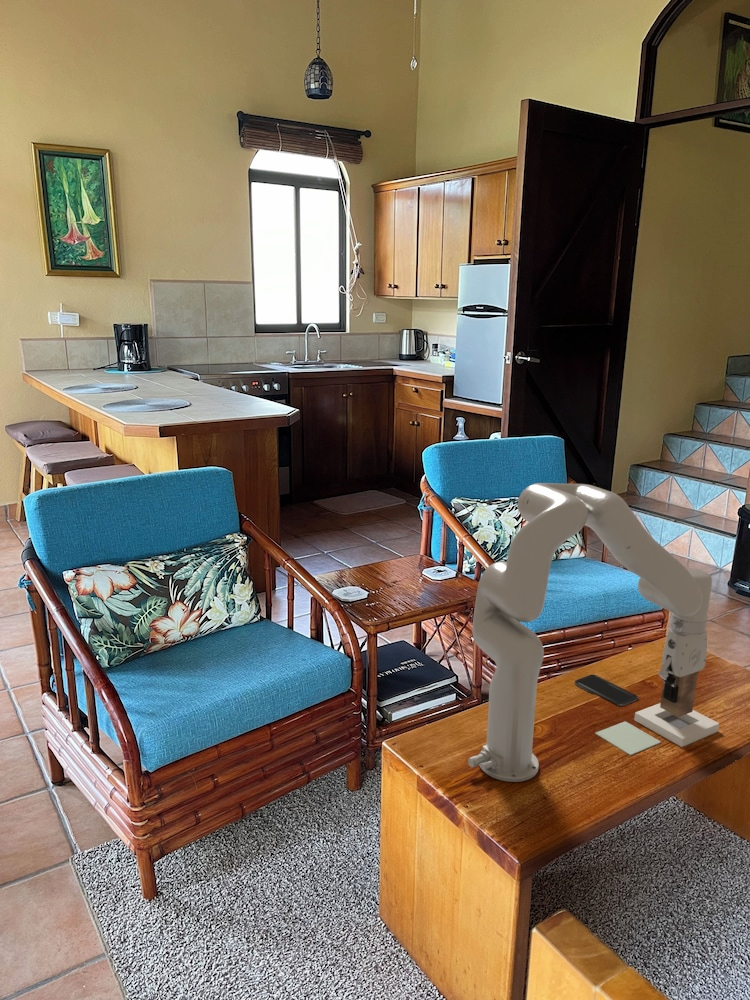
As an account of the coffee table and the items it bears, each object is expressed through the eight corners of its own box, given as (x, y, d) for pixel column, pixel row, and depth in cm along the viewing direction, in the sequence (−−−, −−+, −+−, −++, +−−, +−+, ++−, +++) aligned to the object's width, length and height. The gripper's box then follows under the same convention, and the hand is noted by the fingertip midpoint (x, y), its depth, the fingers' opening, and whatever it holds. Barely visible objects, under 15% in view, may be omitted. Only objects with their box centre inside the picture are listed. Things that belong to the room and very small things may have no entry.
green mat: (630, 757, 160) (630, 754, 160) (595, 735, 168) (595, 732, 168) (660, 744, 165) (661, 741, 165) (625, 723, 173) (625, 721, 173)
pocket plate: (681, 748, 163) (682, 739, 163) (634, 721, 174) (635, 712, 173) (718, 732, 170) (719, 723, 169) (670, 707, 181) (671, 698, 180)
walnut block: (678, 717, 167) (683, 676, 165) (660, 707, 171) (665, 667, 169) (692, 711, 170) (698, 671, 167) (674, 702, 174) (679, 663, 172)
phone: (620, 706, 180) (573, 681, 192) (619, 710, 180) (572, 684, 192) (641, 697, 184) (593, 673, 196) (640, 701, 184) (593, 677, 196)
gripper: (677, 637, 158) (667, 713, 162) (726, 622, 167) (715, 695, 171) (648, 624, 164) (639, 699, 169) (697, 611, 173) (687, 682, 177)
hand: (677, 696), depth 170 cm, fingers closed on walnut block, 5 cm apart
